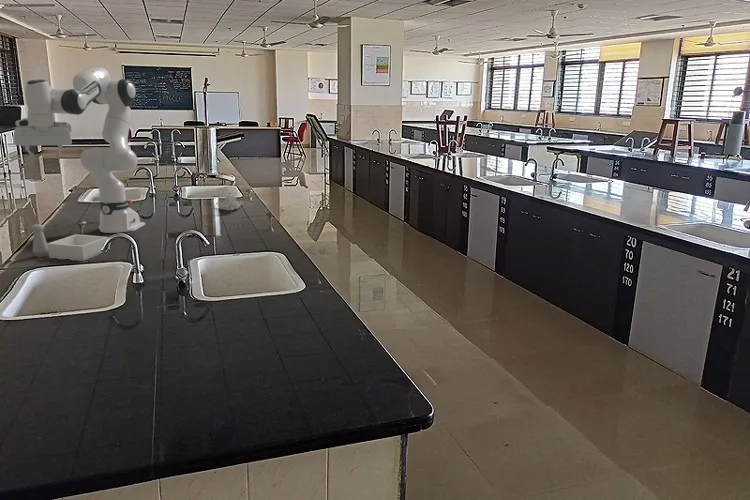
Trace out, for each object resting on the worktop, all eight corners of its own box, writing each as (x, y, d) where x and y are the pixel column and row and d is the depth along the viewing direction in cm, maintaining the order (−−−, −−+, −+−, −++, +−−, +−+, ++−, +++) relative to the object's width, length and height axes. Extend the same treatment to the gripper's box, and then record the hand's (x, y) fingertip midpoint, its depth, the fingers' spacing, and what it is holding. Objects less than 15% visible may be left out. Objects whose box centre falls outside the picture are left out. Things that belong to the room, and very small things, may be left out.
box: (77, 247, 247) (75, 234, 246) (110, 250, 244) (108, 236, 242) (49, 258, 232) (47, 243, 231) (83, 261, 229) (82, 246, 227)
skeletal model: (243, 205, 344) (245, 181, 322) (244, 219, 339) (246, 195, 318) (215, 206, 339) (215, 182, 318) (216, 219, 335) (216, 196, 313)
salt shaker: (34, 254, 236) (30, 223, 233) (50, 253, 238) (46, 222, 235) (32, 258, 231) (27, 226, 228) (48, 257, 233) (44, 225, 230)
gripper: (70, 121, 238) (74, 155, 241) (12, 121, 229) (16, 156, 232) (70, 122, 232) (74, 157, 235) (10, 121, 223) (15, 158, 226)
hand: (45, 156), depth 234 cm, fingers open, 8 cm apart
